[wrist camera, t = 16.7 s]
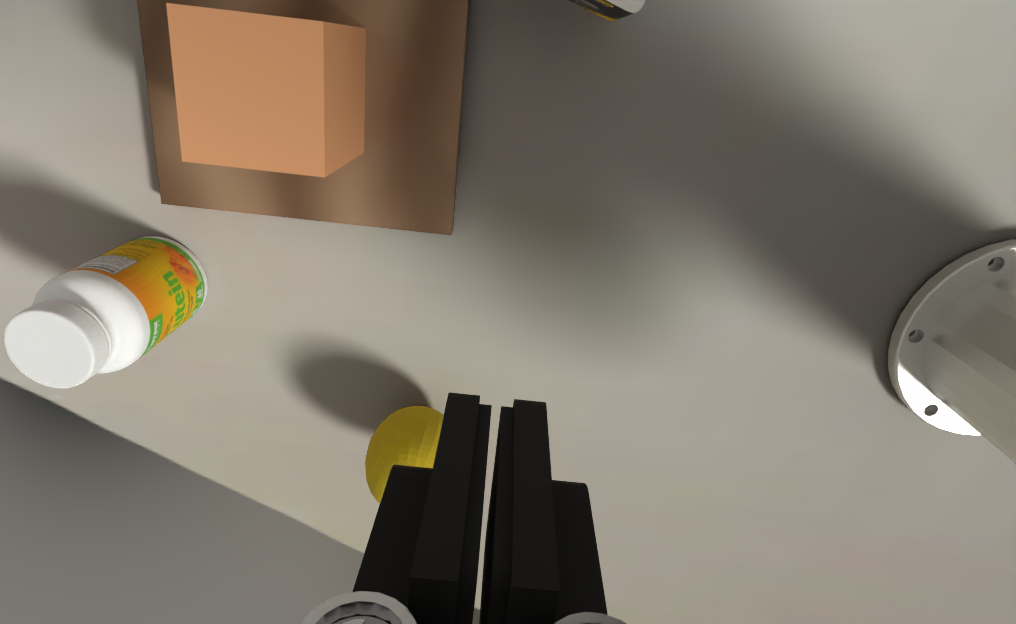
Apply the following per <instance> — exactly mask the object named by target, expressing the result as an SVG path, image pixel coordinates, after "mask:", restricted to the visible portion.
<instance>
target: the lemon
mask: <svg viewBox="0 0 1016 624" xmlns="http://www.w3.org/2000/svg"><path fill="white" fill-rule="evenodd" d="M443 417H444V415H443V414H441V413H440V412H439V411H437V410H434V409H432V408H429V407H424V406H410V407H406V408H402V409H399V410H398V411H396V412H394V413H392V414H390V415H389V416H388V417H387V418H386V419H385V420H384V421H383V422H382V423H381V424H380V425H379V426H378V428H377V430H376V431H375V433H374V434H373V436H372V438H371V440H370V443H369V447H368V451H367V455H366V462H365V467H366V479H367V483H368V486H369V488H370V491H371V493H372V495H373V496H374V497H375V499H376V500H377V501H378V502H379V503H380V502H381V499H382V496H383V493H384V490H385V486H386V483H387V480H388V477H389V474H390V471H391V468H392V466H393V465H404V466H414V467H424V468H433V465H434V460H435V455H436V450H437V446H438V441H439V436H440V431H441V427H442V422H443Z"/></svg>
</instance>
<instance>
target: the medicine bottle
mask: <svg viewBox="0 0 1016 624" xmlns="http://www.w3.org/2000/svg"><path fill="white" fill-rule="evenodd" d="M569 1H571V2H573V3H575V4H577V5H579V6H581V7H583V8H585V9H587V10H589V11H591V12H593V13H595V14H597V15H599V16H601V17H603V18H604V19H606V20H609V21H614V20H617V19H619V18H622V17H625V16H628V15H631V14H633V13H636V12H638V11H640V9H641V8H642V7H643V5H644V3H645V0H569Z"/></svg>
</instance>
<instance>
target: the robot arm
mask: <svg viewBox="0 0 1016 624" xmlns="http://www.w3.org/2000/svg"><path fill="white" fill-rule="evenodd" d="M888 370H889V375H890V379H891V384H892V385H893V387H894V389H895V391H896V393H897V395H898V397H899V398H900V399H901V400H902V402H903V403H904V404H905V405H906V406H907V407H908V408H909V409H910V410H911V411H912V412H913V413H914V414H915V415H916V416H918V417H919V418H920V419H921V420H923V421H924V422H926V423H928V424H930V425H932V426H934V427H936V428H938V429H941V430H945V431H948V432H951V433H956V434H965V435H982V436H983V437H984V438H986V439H987V440H988V441H989V442H991V443H992V444H993V445H994V446H995V447H997V448H998V449H999V450H1000V451H1001V452H1003V453H1004V454H1005V455H1006V456H1007V457H1009V458H1010V459H1011V460H1012V461H1013V462H1015V463H1016V239H1011V240H1007V241H1003V242H999V243H994V244H990V245H987V246H985V247H982V248H980V249H977V250H975V251H973V252H970V253H968V254H966V255H964V256H962V257H960V258H959V259H957V260H955V261H954V262H952V263H950V264H949V265H947V266H945V267H944V268H943V269H942V270H940V271H939V272H938V273H937V274H935V275H934V276H933V277H932V278H930V279H929V280H928V281H927V282H926V283H925V284H924V285H923V286H922V287H921V288H920V289H919V291H918V292H917V293H916V294H915V295H914V296H913V297H912V298H911V300H910V301H909V303H908V304H907V306H906V307H905V309H904V310H903V312H902V313H901V315H900V317H899V319H898V321H897V324H896V326H895V328H894V330H893V333H892V336H891V341H890V345H889V349H888ZM479 401H480V396H477V395H468V394H458V393H449V394H448V398H447V403H446V408H445V413H444V417H443V422H442V427H441V431H440V436H439V441H438V446H437V450H436V455H435V460H434V465H433V468H424V467H414V466H404V465H393V466H392V468H391V471H390V474H389V477H388V480H387V483H386V486H385V490H384V493H383V496H382V499H381V502H380V506H379V509H378V512H377V515H376V518H375V522H374V525H373V528H372V531H371V534H370V538H369V541H368V544H367V547H366V550H365V554H364V557H363V560H362V564H361V567H360V570H359V573H358V576H357V579H356V583H355V586H354V589H353V592H352V593H346V594H342V595H339V596H336V597H334V598H332V599H329V600H327V601H325V602H323V603H322V604H321V605H319V606H318V607H317V608H315V609H314V610H313V611H311V612H310V613H309V614H308V615H307V617H306V618H305V619H304V620H303V622H302V623H301V624H472V620H473V611H474V603H475V594H476V584H477V574H478V563H479V551H480V538H481V526H482V514H483V502H484V490H485V478H486V466H487V454H488V442H489V430H490V417H491V405H483V404H479ZM479 624H626V623H625V622H623V621H622V620H619V619H617V618H614V617H611V616H608V615H607V608H606V602H605V595H604V589H603V583H602V576H601V570H600V563H599V557H598V550H597V544H596V537H595V531H594V524H593V518H592V511H591V505H590V499H589V492H588V488H587V485H586V484H585V483H576V482H566V481H556V480H552V477H551V464H550V450H549V436H548V423H547V409H546V403H545V402H536V401H526V400H517V399H514V404H513V407H503V406H501V413H500V421H499V429H498V438H497V446H496V455H495V463H494V471H493V480H492V488H491V497H490V505H489V513H488V522H487V530H486V541H485V553H484V567H483V580H482V594H481V608H480V622H479Z"/></svg>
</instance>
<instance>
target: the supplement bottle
mask: <svg viewBox="0 0 1016 624" xmlns="http://www.w3.org/2000/svg"><path fill="white" fill-rule="evenodd" d="M207 289H208V285H207V278H206V275H205V272H204V270H203V267H202V266H201V264H200V262H199V261H198V259H197V258H196V257H195V256H194V255H193V254H192V253H191V252H190V251H189V250H188V249H187V248H185V247H184V246H183V245H181V244H179V243H177V242H175V241H173V240H170V239H167V238H163V237H157V236H146V237H141V238H137V239H135V240H132V241H130V242H127V243H125V244H123V245H121V246H119V247H117V248H115V249H112V250H110V251H108V252H106V253H104V254H102V255H100V256H98V257H96V258H94V259H92V260H90V261H88V262H85V263H83V264H81V265H79V266H77V267H75V268H73V269H71V270H69V271H67V272H65V273H62V274H60V275H58V276H57V277H55V278H53V279H51V280H50V281H48V282H47V283H46V284H45V285H44V286H43V287H42V288H41V289H40V290H39V291H38V293H37V295H36V297H35V299H34V302H33V305H32V306H31V307H29V308H27V309H25V310H24V311H22V312H20V313H19V314H17V315H16V316H14V317H13V318H12V319H11V320H10V321H9V323H8V324H7V326H6V329H5V333H4V344H5V348H6V351H7V354H8V356H9V357H10V359H11V361H12V362H13V364H14V365H15V366H16V367H17V368H18V369H19V370H20V371H21V372H22V373H23V374H24V375H26V376H27V377H29V378H30V379H32V380H33V381H35V382H38V383H40V384H42V385H45V386H49V387H54V388H70V387H74V386H77V385H79V384H81V383H83V382H84V381H86V380H87V379H89V378H90V377H92V376H93V375H95V374H96V373H109V372H114V371H118V370H120V369H123V368H125V367H127V366H129V365H131V364H132V363H133V362H135V361H136V360H138V359H139V358H140V357H142V356H143V355H144V354H145V353H146V352H148V351H149V350H150V349H151V348H153V347H154V346H155V345H156V344H158V343H159V342H160V341H161V340H163V339H164V338H165V337H166V336H168V335H169V334H170V333H171V332H173V331H174V330H175V329H177V328H178V327H179V326H180V325H182V324H183V323H184V322H186V321H187V320H188V319H189V318H191V317H192V316H193V315H194V314H195V313H196V312H197V311H198V310H199V309H200V308H201V307H202V305H203V303H204V301H205V299H206V296H207Z"/></svg>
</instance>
